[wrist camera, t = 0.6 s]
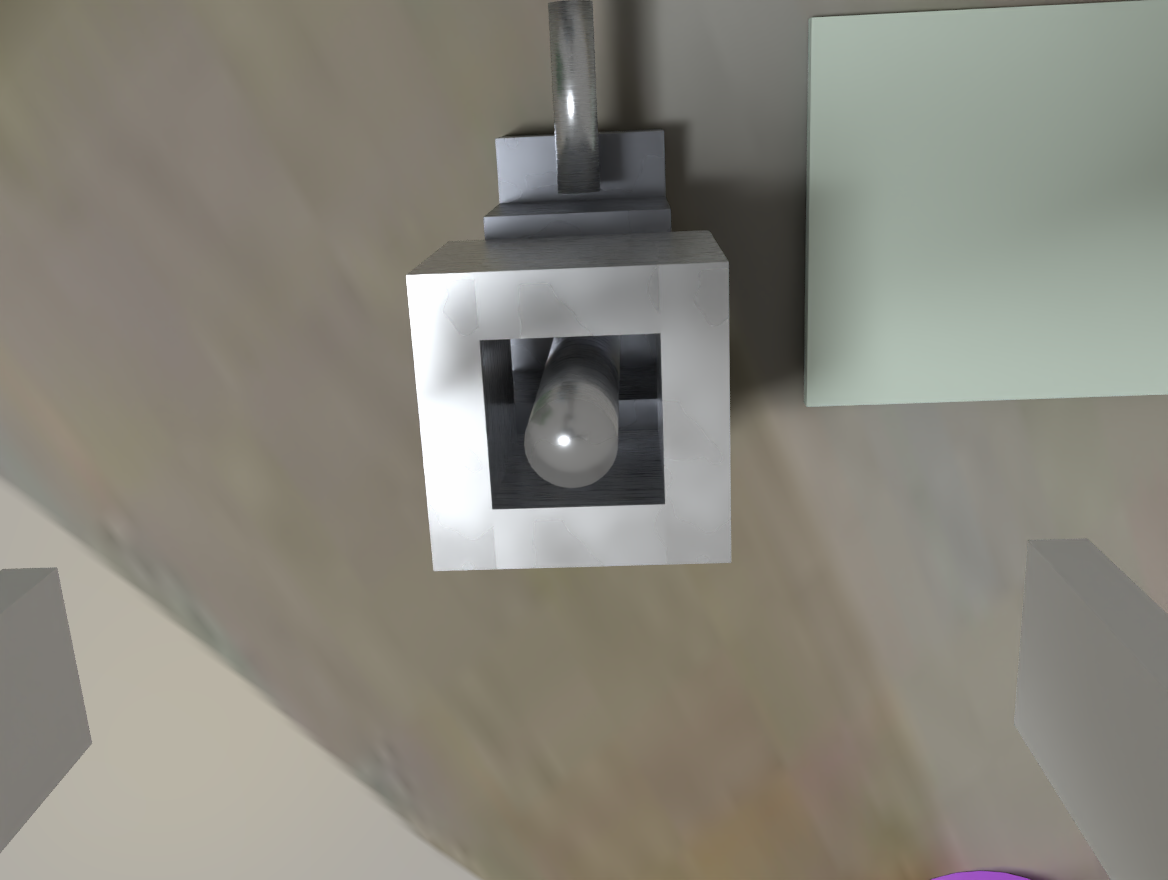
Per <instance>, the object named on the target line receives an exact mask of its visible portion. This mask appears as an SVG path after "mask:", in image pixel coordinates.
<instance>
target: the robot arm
mask: <svg viewBox="0 0 1168 880" xmlns="http://www.w3.org/2000/svg"><path fill="white" fill-rule="evenodd" d="M1014 725H1015V727H1016V729H1017V730H1018V732H1019V733H1020V735H1021V737H1022V738H1023V740H1024V741H1025V743H1026V745H1027V746H1028V748H1029V749H1030V751H1031V753H1032V754H1033V756H1034V757H1035V759H1036V761H1037V762H1038V764H1039V765H1040V767H1041V769H1042V770H1043V772H1044V773H1045V775H1046V777H1047V778H1048V780H1049V781H1050V783H1051V785H1052V786H1053V788H1054V789H1055V791H1056V793H1057V794H1058V796H1059V797H1060V799H1061V801H1062V802H1063V804H1064V805H1065V807H1066V809H1067V810H1068V812H1069V813H1070V815H1071V817H1072V818H1073V820H1074V822H1075V823H1076V825H1077V826H1078V828H1079V830H1080V831H1081V833H1082V834H1083V836H1084V838H1085V839H1086V841H1087V842H1088V844H1089V846H1090V847H1091V849H1092V850H1093V852H1094V854H1095V855H1096V857H1097V858H1098V860H1099V862H1100V863H1101V865H1102V866H1103V868H1104V870H1105V871H1106V873H1107V874H1108V876H1109V878H1110V879H1111V880H1168V614H1167V613H1166V612H1165V611H1163V610H1162V609H1161V608H1160V607H1159V606H1158V605H1157V604H1156V603H1155V602H1154V601H1153V600H1152V599H1151V598H1150V597H1149V596H1148V595H1147V594H1145V593H1144V592H1143V591H1142V590H1141V589H1140V588H1139V587H1138V586H1137V585H1136V584H1135V583H1134V582H1133V581H1132V580H1131V579H1130V578H1129V577H1127V576H1126V575H1125V574H1124V573H1123V572H1122V571H1121V570H1120V569H1119V568H1118V567H1117V566H1116V565H1115V564H1114V563H1113V562H1112V561H1111V560H1109V559H1108V558H1107V557H1106V556H1105V555H1104V554H1103V553H1102V552H1101V551H1100V550H1099V549H1098V548H1097V547H1096V546H1095V545H1094V544H1093V543H1092V542H1090V541H1089V540H1088V539H1087V538H1085V539H1050V540H1028V546H1027V559H1026V572H1025V586H1024V599H1023V612H1022V625H1021V639H1020V652H1019V665H1018V678H1017V692H1016V705H1015V718H1014ZM91 744H92V741H91V735H90V731H89V726H88V721H87V715H86V710H85V705H84V700H83V695H82V691H81V685H80V680H79V675H78V670H77V665H76V660H75V655H74V650H73V645H72V640H71V635H70V630H69V625H68V620H67V615H66V610H65V605H64V600H63V595H62V590H61V585H60V579H59V574H58V569H57V568H23V569H2V570H1V571H0V853H1V852H2V850H3V849H4V848H5V847H6V846H7V844H8V843H9V842H10V841H11V840H12V838H13V837H14V836H15V835H16V834H17V832H18V831H19V830H20V829H21V828H22V827H23V825H24V824H25V823H26V822H27V820H28V819H29V818H30V817H31V816H32V814H33V813H34V812H35V811H36V810H37V808H38V807H39V806H40V805H41V804H42V803H43V801H44V800H45V799H46V798H47V797H48V795H49V794H50V793H51V792H52V791H53V789H54V788H55V787H56V786H57V785H58V783H59V782H60V781H61V780H62V779H63V777H64V776H65V775H66V774H67V773H68V771H69V770H70V769H71V768H72V767H73V765H74V764H75V763H76V762H77V761H78V759H79V758H80V757H81V756H82V755H83V753H84V752H85V751H86V750H87V749H88V747H89V746H90V745H91Z"/></svg>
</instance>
